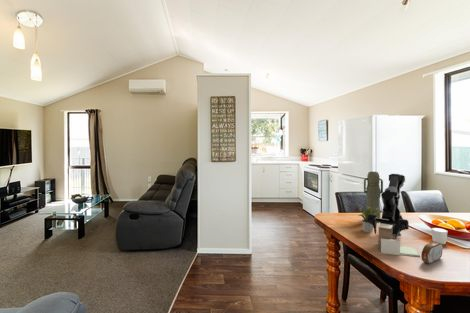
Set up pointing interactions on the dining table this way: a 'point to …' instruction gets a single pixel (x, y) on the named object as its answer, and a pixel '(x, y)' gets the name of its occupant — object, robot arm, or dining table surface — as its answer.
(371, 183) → the thermos
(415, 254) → the pad
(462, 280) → the dining table surface
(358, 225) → the dining table surface
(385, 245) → the low screen
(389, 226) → the marked block
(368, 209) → the house plant
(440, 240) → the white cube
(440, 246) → the tin
